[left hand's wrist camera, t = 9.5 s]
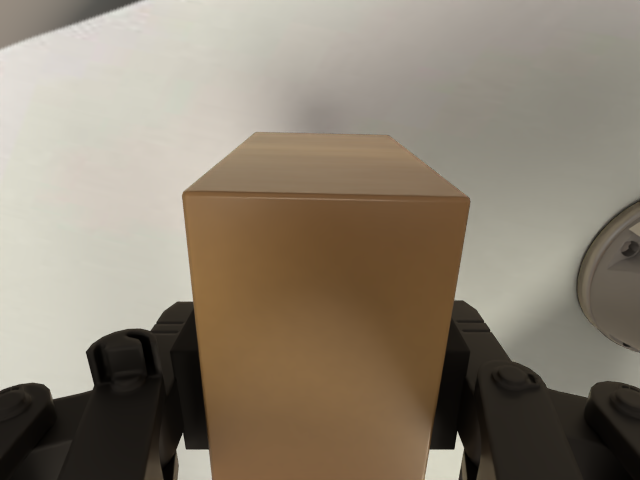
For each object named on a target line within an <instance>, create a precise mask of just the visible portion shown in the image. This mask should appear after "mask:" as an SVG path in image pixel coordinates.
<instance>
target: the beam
mask: <svg viewBox="0 0 640 480" xmlns="http://www.w3.org/2000/svg"><path fill="white" fill-rule="evenodd" d="M182 200H183V209H184V219H185V228H186V238H187V247H188V256H189V266H190V275H191V285H192V294H193V303H194V313H195V322H196V332H197V341H198V351H199V360H200V369H201V379H202V388H203V398H204V407H205V416H206V426H207V435H208V445H209V454H210V464H211V473H212V480H424V479H425V473H426V467H427V461H428V454H429V448H430V442H431V436H432V430H433V424H434V418H435V412H436V406H437V400H438V394H439V388H440V382H441V376H442V370H443V364H444V358H445V352H446V346H447V340H448V334H449V328H450V322H451V316H452V310H453V303H454V297H455V291H456V285H457V279H458V273H459V267H460V261H461V255H462V249H463V243H464V237H465V231H466V225H467V219H468V213H469V207H470V198H469V197H468V196H466V195H465V194H464V193H463V192H461V191H460V190H459V189H457V188H456V187H455V186H453V185H452V184H451V183H450V182H448V181H447V180H446V179H444V178H443V177H442V176H441V175H439V174H438V173H437V172H435V171H434V170H433V169H432V168H430V167H429V166H428V165H426V164H425V163H424V162H423V161H421V160H420V159H419V158H417V157H416V156H415V155H414V154H412V153H411V152H410V151H408V150H407V149H406V148H404V147H403V146H402V145H401V144H399V143H398V142H397V141H395V140H394V139H393V138H392V137H390V136H389V135H362V134H318V133H274V132H256V133H254V134H253V135H252V136H250V137H249V138H248V139H247V140H246V141H244V142H243V143H242V144H241V145H239V146H238V147H237V148H236V149H235V150H233V151H232V152H231V153H230V154H229V155H227V156H226V157H225V158H224V159H222V160H221V161H220V162H219V163H218V164H216V165H215V166H214V167H213V168H212V169H210V170H209V171H208V172H207V173H206V174H204V175H203V176H202V177H201V178H199V179H198V180H197V181H196V182H195V183H193V184H192V185H191V186H190V187H189V188H187V189H186V190H185V191H184V192H183V194H182Z"/></svg>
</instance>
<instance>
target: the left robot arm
mask: <svg viewBox="0 0 640 480" xmlns="http://www.w3.org/2000/svg"><path fill="white" fill-rule="evenodd" d="M577 286H578V299H579V303H580V306H581V308H582V311H583V312H584V314H585V316H586V317H587V319H588V320H589V321H590V322H591V323H592V324H593V325H594V326H595V327H596V328H597V329H598V330H599V331H600V332H602V333H603V334H604V335H605V336H606V337H607V338H609V339H610V340H611V341H613V342H615V343H616V344H619V345H621V346H623V347H625V348H627V349H630V350H633V351H636V352H639V353H640V201H639V202H637V203H635V204H634V205H632V206H630V207H629V208H627V209H626V210H624V211H623V212H622V213H620V214H619V215H618V216H617V217H615V218H614V219H613V220H612V221H611V222H610V223H609V224H608V225H607V226H606V227H605V228H604V229H603V230H602V231H601V232H600V233H599V235H598V236H597V237H596V239H595V240H594V241H593V243H592V244H591V246H590V248H589V249H588V251H587V253H586V255H585V257H584V260H583V262H582V265H581V268H580V272H579V276H578V284H577ZM86 355H87V359H88V362H89V366H90V370H91V374H92V378H93V382H94V388H93V390H91V391H87V392H84V393H80V394H75V395H71V396H66V397H62V398H57V399H52V395H51V392H50V389H48V388H47V387H46V386H45V385H44V384H38V383H27V384H19V385H16V386H12V387H9V388H6V389H3V390H1V391H0V480H177V478H178V468H179V464H178V458H177V452H176V449H177V446H178V444H179V441H180V439H181V436H182V433H183V435H184V441H185V447H186V449H209V445H208V435H207V426H206V416H205V407H204V398H203V388H202V379H201V369H200V360H199V351H198V341H197V332H196V322H195V313H194V303H193V302H176V303H175V304H173V305H172V306H171V307H169V308H168V309H166V310H165V311H164V312H163V313H162V315H161V316H160V318H159V319H158V321H157V324H155V325H154V327H153V328H152V330H151V331H148V330H144V329H126V330H121V331H117V332H114V333H111V334H109V335H106V336H104V337H102V338H100V339H99V340H97V341H96V342H95V343H93V344H92V345H91V346H90V347H89V349H88V350H87V351H86ZM457 431H458V433H459V436H460V439H461V441H462V444H463V446H464V452H463V458H462V463H461V469H460V475H459V480H640V389H639V388H637V387H634V386H630V385H628V384H624V383H620V382H611V381H605V382H599V383H596V384H595V385H594V386H593V387H592V388H591V390H590V393H589V396H588V398H586V397H582V396H577V395H572V394H568V393H563V392H559V391H555V390H552V389H548V388H547V387H546V385H545V383H544V382H543V380H542V379H541V377H540V376H539V375H537V374H536V373H535V372H533V371H532V370H531V369H529V368H527V367H525V366H523V365H521V364H519V363H516V362H512V361H511V360H510V358H509V357H508V355H507V354H506V352H505V351H504V350H503V348H502V347H501V345H500V344H499V342H498V341H497V339H496V338H495V336H494V335H493V333H492V332H490V329H489V328H488V326H487V325H486V323H484V320H483V319H482V317H481V316H480V314H479V313H478V311H477V310H476V309H474V308H473V307H472V306H470V305H469V304H467V303H466V302H464V301H454V303H453V310H452V316H451V322H450V328H449V334H448V340H447V346H446V352H445V358H444V364H443V370H442V376H441V382H440V388H439V394H438V400H437V406H436V412H435V418H434V424H433V430H432V436H431V442H430V448H429V449H454V448H455V442H456V436H457Z"/></svg>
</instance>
